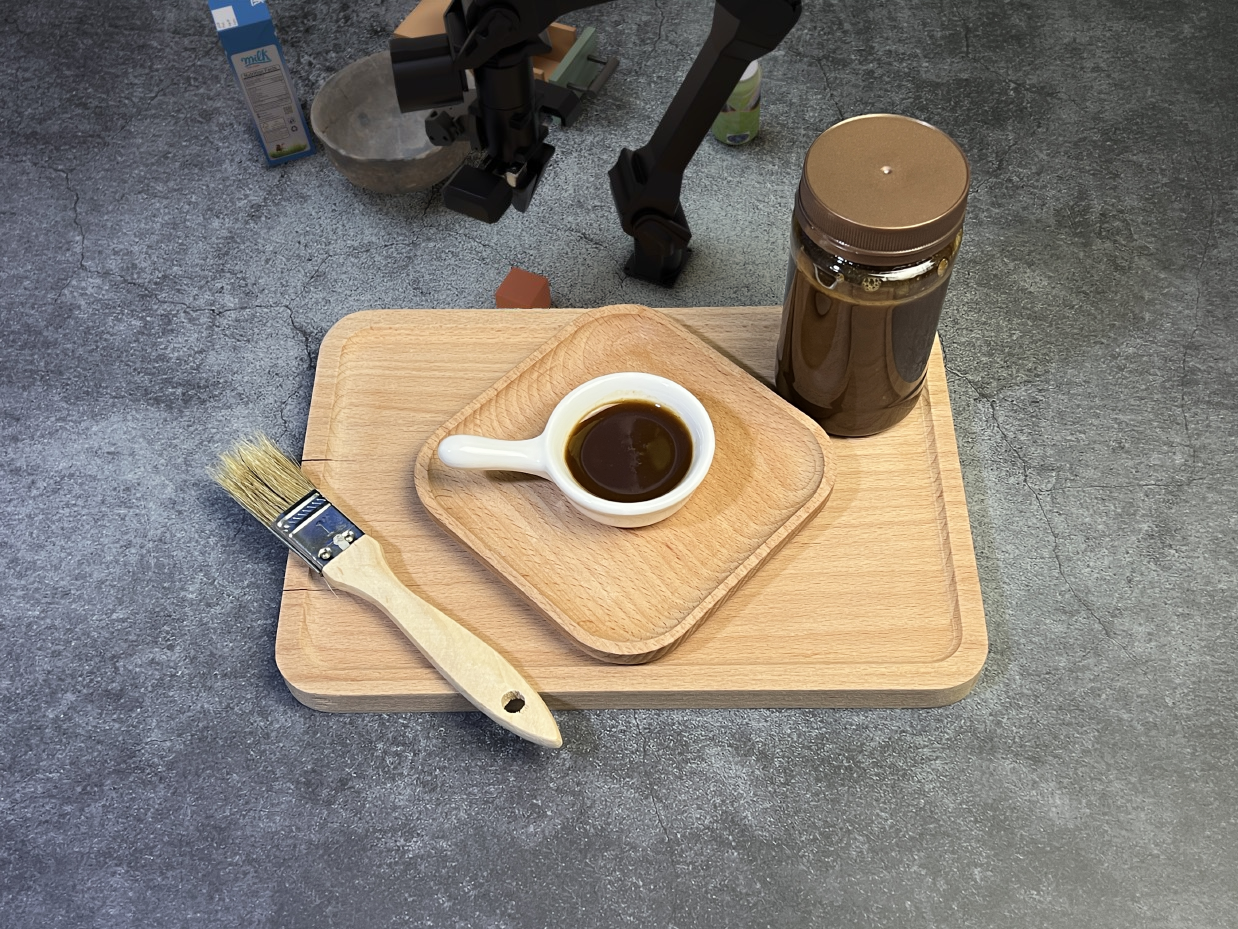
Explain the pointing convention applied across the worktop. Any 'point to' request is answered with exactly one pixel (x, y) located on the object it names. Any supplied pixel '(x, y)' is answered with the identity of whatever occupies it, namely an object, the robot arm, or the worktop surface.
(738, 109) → the beverage can
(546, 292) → the block
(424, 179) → the bowl
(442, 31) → the cabinet
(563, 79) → the drawer
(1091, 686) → the worktop surface
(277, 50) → the milk carton
